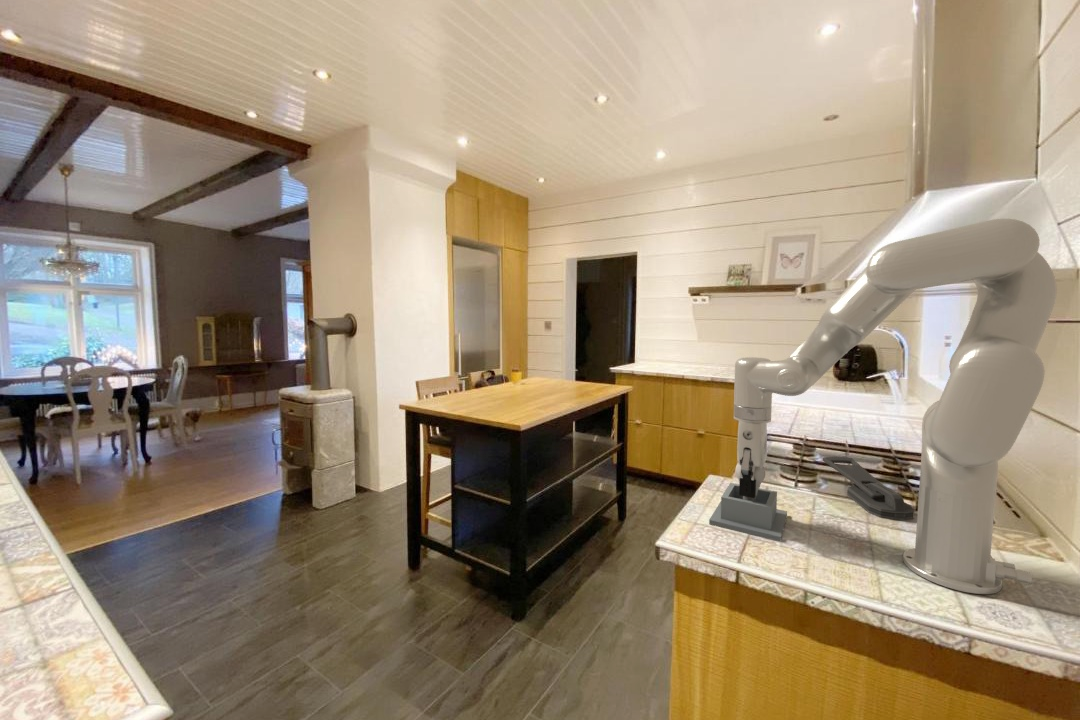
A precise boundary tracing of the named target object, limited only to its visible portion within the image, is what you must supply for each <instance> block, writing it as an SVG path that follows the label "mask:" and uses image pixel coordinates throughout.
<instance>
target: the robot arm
mask: <svg viewBox="0 0 1080 720" xmlns="http://www.w3.org/2000/svg"><path fill="white" fill-rule="evenodd" d="M1039 248H1040V236H1039V233H1038V232H1037V231H1036V229H1035V228H1034V227H1033V226H1031V225H1030V224H1029V223H1027V222H1024V221H1022V220H1019V219H1015V218H1013V219H1012V218H995V219H988V220H984V221H979V222H976V223H971V224H968V225H967V224H966V225H963V226H958V227H955V228H950V229H945V230H942V231H937V232H933V233H930V234H925V235H920V236H915V237H911V238H907V239H902V240H899V241H898V240H897V241H895V242H891V243H888V244H886V245H883V246H882V247H880V248H879V249H877V250H876V251H875V252H874V253H873V254H872V256H871V257H870V258H869V260H868V263H867V266H866V267H865V268H864V269H863V270H862V271H861V273H859V274H858V276H856V278H855V279H854V280H853V281H851V283H850V284H849V286H847V287H846V288H845V289H844V291H842V293H840V295H839V296H837V298H835V300H834V301H832V303H831V304H830V305H829V306H828V307H827V308H826V309H825V310H824V312H823V313H822V315H821V317H820V319H819V321H818V323H817V325H816V327H815V328H814V330H813V331H812V332H811V333H810V334H809V336H808V337H807V338H806V339H805V340H804V341H803V342H802V343H801V344H800V345H799V346H798V347H797V348H796V349H795V350H794V351H793V353H792V354H791V355H790V356H788V357H787V358H786V359H782V360H770V359H769V358H765V357H752V356H751V357H750V356H749V357H741V358H738V359H737V360H736V361H735V363H734V385H733V386H734V388H733V389H734V390H733V392H734V394H733V397H734V398H733V420H736V421H738V427H737V447H736V450H737V451H736V455H737V456H736V458H737V460H736V461H737V463H738V464H739V465H741V472H740V481H739V482H738V484H739V494H740V495H741V496H746V497H751V498H755V496H756V480H754V479H755V468H756V467H758V468H762V467H763V466H764V465H765V463H766V460H767V459H768V458H767V457H768V426H767V424H768V423H771V422H772V405H773V404H772V402H773V399H772V398H773V394H776V395H782V396H787V397H795V396H800V395H802V394H804V393H806V391H808V390H809V389H810V388H811V387H813V386H814V385H815V384H816V383H817V382H818V381H819V380H820V379H821V378H822V377H823V376H824V375H825V374H826V373H828V371H829V370H830V369H831V368H832V367H833V366H835V364H836V363H837V362H838V361H839V360H840V359H842V358H843V357H844V356H845V355H846V354H847V353H848V352H849V351H850V350H851V349H853V348H854V347H856V346H858V345H859V344H861V343H862V342H863V341H864V340H865V339H866V338H867V337H868V336H869V335H870V334H871V333H872V332H873V331H874V330H875V329H876V328H877V327H879V325H881V324H882V323H883V322H884V321H885V320H886V319H887V318H888V317H889V316H890V315H891V314H892V313H893V312H894V311H895V310H896V309H897V308H899V306H900V305H901V304H903V302H905V300H907V299H908V298H909V297H910V296H911V295H912V294H913V293H914V292H915V291H916V290H921V289H927V288H933V287H940V286H946V285H951V284H953V285H954V284H957V283H958V284H959V283H964V282H969V281H973V283H974V284H975V286H976V289H977V297H976V302H975V304H974V307H973V309H972V312H971V315H970V319H969V321H968V323H967V326H966V328H965V330H964V332H963V335H962V337H961V339H960V341H959V343H958V345H957V347H956V349H955V351H954V352H953V354H952V356H951V358H950V360H949V364H948V365H949V373H950V375H949V377H948V379H947V381H946V384H945V386H944V388H943V391H942V394H941V395H940V398H939V400H936V401H935V402H934V403H932V404H930V406H929V407H928V408H927V409H926V411H925V412H924V415H923V418H922V424H921V458H920V460H921V461H920V471H919V473H920V474H919V475H920V476H919V487H918V488H919V489H918V501H917V502H918V503H917V517H916V531H915V533H916V534H915V546H914V548H909V549H908V550H905V551H904V552H903V555H902V556H903V563H904V564H905V566H907V568H908V569H909V570H910V571H912V572H914V573H915V574H917V575H918V576H920V577H922V578H923V579H926V580H928V581H929V582H933V584H937V585H940V586H942V587H945V588H948V589H951V590H956V591H959V592H964V593H968V594H974V595H975V594H976V595H992V594H996V593H997V594H998V593H999V592H1000V591H1002V587H1003V586H1002V585H1003V580H1004V579H1008V580H1012V581H1014V582H1018V583H1022V584H1026V585H1032V583H1033V575H1032V573H1031V571H1026V570H1022V569H1017V568H1016V565H1015V564H1014V563H1010V562H1005V561H1000V560H996V559H995V558H993V556H992V541H993V533H994V532H993V531H994V521H995V520H994V519H995V508H996V496H997V488H998V487H997V486H998V472H999V471H998V470H999V469H998V467H999V465H998V464H999V463H998V462H999V461H1001V459H1003V458H1004V457H1005V456H1007V454H1008V453H1009V452H1010V450H1011V449H1012V447H1013V446H1014V444H1015V443H1016V441H1017V438H1018V437H1019V435H1020V433H1021V431H1022V429H1023V427H1024V425H1025V423H1026V421H1027V419H1028V417H1029V415H1030V414H1031V413H1030V412H1031V411H1032V409H1033V406H1034V404H1035V402H1036V400H1037V398H1038V396H1039V394H1040V392H1041V390H1042V387H1043V384H1044V381H1045V372H1046V371H1045V365H1044V363H1043V360H1042V358H1041V357H1040V355H1038V354H1037V352H1036V351H1037V348H1038V346H1039V344H1040V342H1041V339H1042V338H1043V335H1044V333H1045V330H1046V327H1047V325H1048V322H1049V319H1050V317H1051V315H1052V313H1053V310H1054V307H1055V304H1056V299H1057V291H1058V288H1057V286H1058V285H1057V280H1056V277H1055V276H1056V275H1055V274H1054V272H1053V270H1052V268H1051V266H1050V264H1049V263H1048V261H1047V260H1046V258H1044V256H1043V255H1042V254H1041V253H1040V252H1039ZM750 463H753V466H752V465H749V464H750ZM749 468H752V472H751V470H749ZM759 488H761V485H760V486H759Z"/></svg>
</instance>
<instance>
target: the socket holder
mask: <svg viewBox="0 0 1080 720" xmlns="http://www.w3.org/2000/svg"><path fill="white" fill-rule="evenodd" d="M777 499H778V491H775V490H771V489H770V490H769V489H765V488H761V487H759V488H758V492H757V496H756V502H753V501H748V500H743V496H741V495H740V494H739V483H735V482H734V483H733V482H730V483H729V484H728V486H727V487H726V489H725V490H724V492H723V494H722V495H721V496H720V502H719V503H718V505H717V507H716V508H715V510H714V512H713V513H712V515H711V517H710V518H709V520H708V523H709V525H711V524H713V525H712V526H715V525H716V527H718V528H719V527H720V528H724V529H728V530H731V531H732V530H733V531H736V532H739V533H744V534H748V535H753V536H756V537H760V538H765V539H769V540H772V541H777V542H781V541H782V537H783V534H784V530H783V529H785V526H784V525H786V522H785V521H787V518H788V511H787V510H782V509H778V508H777V505H778V503H777V502H778V500H777ZM786 517H787V518H786Z"/></svg>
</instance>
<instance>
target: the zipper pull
mask: <svg viewBox="0 0 1080 720" xmlns="http://www.w3.org/2000/svg"><path fill="white" fill-rule="evenodd" d="M822 461H823V462H824V463H825V464H827V465H828V466H829V467H831V468H833V469H834V470H835V471H836V472H838V473H839V474H840V475H842V476H843V477H845V479H847V480H849V482H851V483H853V484H854V485H851V486H847V495H846V496H848V498H850V499H851V500H852V501H854V502H855V503H856V504H857V505H858V506H860V507H861V508H862V509H863V510H864V511H866V512H867V513H869V514H870V515H873V516H876V517H878V518H881V519H886V520H893V521H906V520H907V521H908V520H913V519H914V514H915V513H914V512H915V509H914V508H913V506H912V505H911V504H909V503H907V502H906V501H905V500H904V497H903V496H902V494H899V493H898V492H896V491H894V490H893V489H892V488H889V487H887V486H886V485H884V484H883V483H881V482H880V481H879V480H878V479H877V478H875V476H874V475H872V474H871V473H869V471H867V470H866V469H865V468H864V467H863V466H861V465H860V464H859V463H858V462H857V461H856V460H855V459H853V457H846V456H825V457H822Z"/></svg>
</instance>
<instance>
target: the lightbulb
mask: <svg viewBox="0 0 1080 720" xmlns="http://www.w3.org/2000/svg"><path fill="white" fill-rule="evenodd" d="M735 465H736V466H735V475H736V478H737V480H738V482H740V472H741V465H739V464H738V462H737V463H736V464H735ZM749 465H752V466H753V463H750V464H749ZM749 470H751V472H752V468H749ZM765 478H766V469H765V466H764V465H763V467H762V468H758V467H756V468H755V479H754V480H756V496H757V492H758V488H760V487H761V484H762V483H763V482H764V480H765ZM759 486H760V487H759ZM756 496H755V498H751V497H746V496H743V500H748V501H753V502H756Z"/></svg>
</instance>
